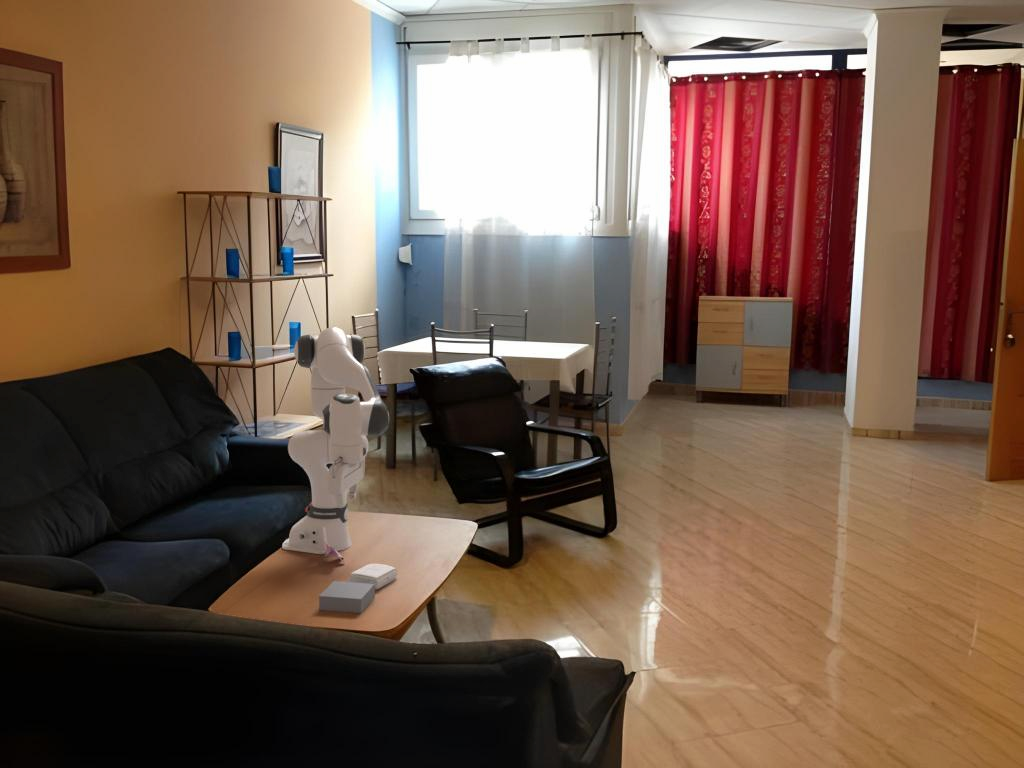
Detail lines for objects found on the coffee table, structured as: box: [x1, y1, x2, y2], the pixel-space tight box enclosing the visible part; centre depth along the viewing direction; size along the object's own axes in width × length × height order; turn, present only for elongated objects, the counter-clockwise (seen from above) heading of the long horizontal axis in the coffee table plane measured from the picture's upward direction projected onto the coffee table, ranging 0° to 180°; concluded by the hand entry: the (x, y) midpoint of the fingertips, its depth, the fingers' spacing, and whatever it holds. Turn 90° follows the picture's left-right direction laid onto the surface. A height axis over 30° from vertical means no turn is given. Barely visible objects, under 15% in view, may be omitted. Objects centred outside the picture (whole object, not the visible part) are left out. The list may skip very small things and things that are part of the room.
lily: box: [320, 534, 346, 565], centre depth 287 cm, size 12×12×10 cm
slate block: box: [318, 580, 376, 614], centre depth 255 cm, size 12×12×4 cm
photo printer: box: [348, 563, 398, 590], centre depth 272 cm, size 10×4×12 cm
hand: (346, 502), depth 251 cm, fingers open, 8 cm apart
